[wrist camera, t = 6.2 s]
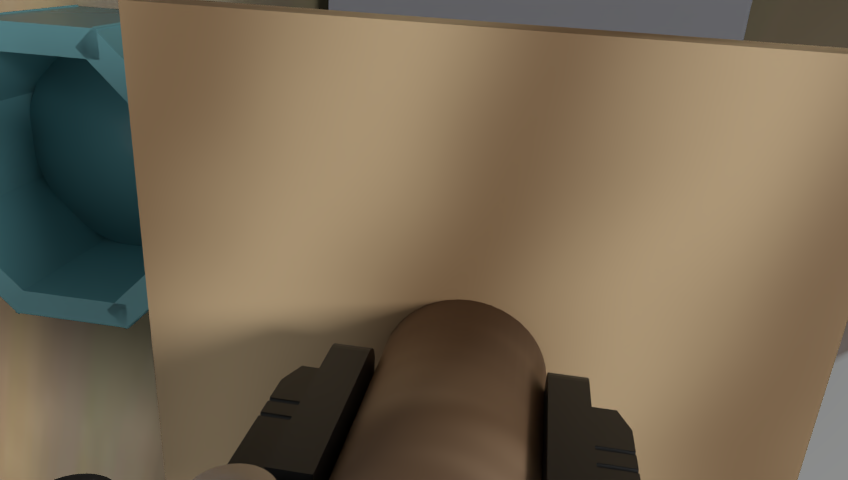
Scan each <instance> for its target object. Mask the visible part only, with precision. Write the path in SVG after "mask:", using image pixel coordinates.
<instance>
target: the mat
mask: <svg viewBox="0 0 848 480" xmlns="http://www.w3.org/2000/svg"><path fill="white" fill-rule="evenodd" d="M751 3H752V0H329V10H337V11H351V12H364V13H378V14H391V15H405V16H418V17H432V18H445V19H459V20H473V21H486V22H500V23H513V24H527V25H540V26H554V27H568V28H581V29H595V30H608V31H622V32H635V33H649V34H663V35H676V36H690V37H703V38H717V39H730V40H744V35H745V31H746V26H747V22H748V17H749V13H750V8H751Z"/></svg>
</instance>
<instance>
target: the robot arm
mask: <svg viewBox="0 0 848 480" xmlns="http://www.w3.org/2000/svg"><path fill="white" fill-rule="evenodd" d="M374 371H375V353H374V349H373V348H368V347H360V346H353V345H346V344H338V343H334V344H333V345H332V346H331V348H330V350H329V351H328V353H327V355H326V357H325V359H324V360H323V362H322V364H321V366H320V367H319V368H315V367H308V366H301V367H299V368H298V369H296V370H295V371H293V372H292V373H290V374H289V375H287V376H286V377H284V378H283V379H281V380H280V382H279V384H278V385H277V387H276V388H275V390H274V391H273V393H272V395H271V396H270V400H269V401H267V402H266V404H265V406H264V407H263V409H262V410H261V413H260V416H259V415H258V417H257V418H256V420H255V421H254V423H253V424H252V426H251V428H250V429H249V431H248V432H247V434H246V435H245V437H244V439H243V440H242V442H241V443H240V445H239V446H238V448H237V450H236V451H235V453H234V454H233V456H232V457H231V459H230V461H229V462H228V464H226V465H221V466H217V467H214V468H212V469H209V470H207V471H205V472H203V473H201V474H199V475H198V476H196V477H195V478H194V479H193V480H329V477H330V475H331V473H332V470H333V468H334V466H335V463H336V461H337V459H338V456H339V454H340V451H341V449H342V447H343V444H344V442H345V440H346V437H347V435H348V433H349V430H350V428H351V426H352V423H353V421H354V419H355V416H356V414H357V412H358V409H359V407H360V405H361V402H362V400H363V398H364V395H365V393H366V390H367V388H368V386H369V383H370V381H371V379H372V376H373V374H374ZM55 480H111V479H109V478H107V477H105V476H101V475H96V474H75V475H69V476H64V477H61V478H58V479H55ZM542 480H641V479H640V474H639V467H638V461H637V456H636V449H635V443H634V437H633V431H632V429H631V428H630V427H629V425H628V424H627V423H626V422H625V420H624V419H623V418H622V416H621V415H620V414H619V412H618V411H617V410H611V409H604V408H597V407H592V405H591V394H590V383H589V378H587V377H579V376H572V375H564V374H557V373H550V372H548V373H547V376H546V382H545V389H544V422H543V475H542Z"/></svg>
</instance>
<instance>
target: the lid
mask: <svg viewBox="0 0 848 480" xmlns="http://www.w3.org/2000/svg"><path fill="white" fill-rule="evenodd" d="M118 4H119V14H120V25H121V35H122V45H123V55H124V65H125V75H126V85H127V95H128V106H129V116H130V126H131V136H132V146H133V156H134V166H135V176H136V187H137V197H138V207H139V217H140V227H141V237H142V247H143V257H144V267H145V278H146V288H147V298H148V308H149V318H150V328H151V338H152V348H153V359H154V369H155V379H156V389H157V399H158V409H159V419H160V429H161V440H162V450H163V460H164V470H165V480H193V479H194V478H195V477H196V476H198V475H199V474H201V473H203V472H205V471H207V470H209V469H212V468H214V467H217V466H221V465H226V464H228V462H229V461H230V459H231V457H232V456H233V454H234V453H235V451H236V450H237V448H238V446H239V445H240V443H241V442H242V440H243V439H244V437H245V435H246V434H247V432H248V431H249V429H250V428H251V426H252V424H253V423H254V421H255V420H256V418H257V417H258V415H259V416H260V413H261V410H262V409H263V407H264V406H265V404H266V402H267V401H269V400H270V396H271V395H272V393H273V391H274V390H275V388H276V387H277V385H278V384H279V382H280V380H281V379H283V378H284V377H286V376H287V375H289V374H290V373H292V372H293V371H295V370H296V369H298V368H299V367H301V366H308V367H315V368H319V367H320V366H321V364H322V362H323V360H324V359H325V357H326V355H327V353H328V351H329V350H330V348H331V346H332V345H333V344H334V343H338V344H346V345H353V346H360V347H368V348H373V349H374V353H375V371H374V374H373V376H372V379H371V381H370V383H369V386H368V388H367V390H366V393H365V395H364V398H363V400H362V402H361V405H360V407H359V409H358V412H357V414H356V416H355V419H354V421H353V423H352V426H351V428H350V430H349V433H348V435H347V437H346V440H345V442H344V444H343V447H342V449H341V451H340V454H339V456H338V459H337V461H336V463H335V466H334V468H333V470H332V473H331V475H330V477H329V480H542V475H543V422H544V389H545V382H546V376H547V373H548V372H550V373H557V374H564V375H572V376H579V377H587V378H589V383H590V394H591V405H592V407H597V408H604V409H611V410H617V411H618V412H619V414H620V415H621V416H622V418H623V419H624V420H625V422H626V423H627V424H628V425H629V427H630V428H631V429H632V431H633V437H634V443H635V449H636V456H637V461H638V467H639V474H640V479H641V480H797V479H798V476H799V473H800V470H801V466H802V463H803V460H804V457H805V454H806V450H807V447H808V444H809V441H810V438H811V434H812V432H813V428H814V425H815V422H816V419H817V416H818V412H819V409H820V406H821V403H822V400H823V396H824V393H825V390H826V387H827V384H828V381H829V377H830V374H831V371H832V368H833V365H834V362H835V358H836V355H837V352H838V349H839V346H840V342H841V339H842V336H843V333H844V330H845V327H846V323H847V320H848V48H839V47H825V46H812V45H798V44H785V43H771V42H758V41H744V40H730V39H717V38H703V37H690V36H676V35H663V34H649V33H635V32H622V31H608V30H595V29H581V28H568V27H554V26H540V25H527V24H513V23H500V22H486V21H473V20H459V19H445V18H432V17H418V16H405V15H391V14H378V13H364V12H351V11H337V10H323V9H310V8H296V7H283V6H269V5H256V4H242V3H228V2H215V1H201V0H118Z"/></svg>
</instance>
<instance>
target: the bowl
mask: <svg viewBox="0 0 848 480" xmlns="http://www.w3.org/2000/svg"><path fill="white" fill-rule="evenodd" d="M0 296H1V297H2V298H3V299H4V300H5V301H6V302H7V303H8V304H9V305H10V306H11V307H12V308H13V309H14V310H15V311H16V313H18V314H20V313H23V314H31V315H38V316H45V317H52V318H59V319H66V320H73V321H80V322H88V323H95V324H102V325H109V326H116V327H123V328H125V329H126V328H130V327H131V326H132V325H133V324H134V323H135V322H136V321H138V320H139V319H140V318H141V317H142V316H143V315H144V314H145V313H147V312H148V311H149V308H148V298H147V288H146V278H145V267H144V257H143V247H142V237H141V227H140V217H139V207H138V197H137V187H136V176H135V166H134V156H133V146H132V136H131V126H130V116H129V106H128V95H127V85H126V75H125V65H124V55H123V45H122V35H121V25H120V14H119V9H108V8H95V7H83V6H78V5H70V6H61V7H51V8H42V9H32V10H22V11H13V12H3V13H0Z"/></svg>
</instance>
